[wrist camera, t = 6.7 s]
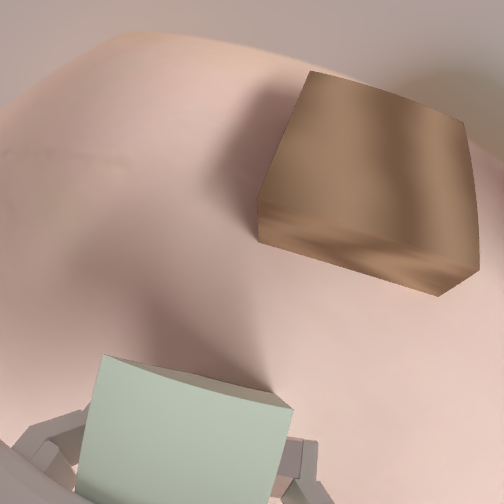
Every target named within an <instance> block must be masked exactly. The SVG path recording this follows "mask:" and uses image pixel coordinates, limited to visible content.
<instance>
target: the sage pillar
mask: <svg viewBox="0 0 504 504" xmlns="http://www.w3.org/2000/svg"><path fill="white" fill-rule="evenodd" d="M293 411H294V409H292V408H291V407H290V406H289V405H288V404H286V403H285V402H284V401H283V400H282V399H280V398H279V397H278V396H277V395H276V394H275V393H270V392H265V391H260V390H256V389H251V388H247V387H243V386H238V385H234V384H230V383H226V382H222V381H219V380H215V379H211V378H207V377H204V376H200V375H197V374H193V373H188V372H182V371H177V370H171V369H166V368H161V367H156V366H151V365H147V364H142V363H138V362H133V361H129V360H125V359H121V358H116V357H113V356H109V355H105V354H103V357H102V360H101V364H100V367H99V371H98V375H97V379H96V383H95V387H94V391H93V395H92V399H91V403H90V408H89V412H88V417H87V421H86V426H85V431H84V436H83V441H82V447H81V452H80V458H79V464H78V471H77V477H76V485H75V493H76V494H78V495H80V496H82V497H83V498H85V499H87V500H89V501H91V502H93V503H95V504H268V500H269V497H270V494H271V491H272V487H273V484H274V481H275V477H276V474H277V471H278V467H279V464H280V460H281V457H282V453H283V449H284V446H285V442H286V438H287V434H288V430H289V427H290V423H291V419H292V415H293Z"/></svg>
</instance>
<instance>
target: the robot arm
mask: <svg viewBox="0 0 504 504" xmlns="http://www.w3.org/2000/svg"><path fill="white" fill-rule="evenodd" d="M90 403H91V401H90ZM90 403H89V404H88V405H87V406H86V408H85V409H84V410H83V411H82V410H77V411H74V412H71V413H69V414H66V415H63V416H60V417H57V418H54V419H51V420H48V421H45V422H42V423H38V424H35V425H32V426H29V428H28V429H27V430H26V431H25V432H24V433H23V435H22V436H21V437H20V438H19V439H18V441H17V442H16V443H15V444H14V445H13V447H12V448H10V447H9V446H8V445H7V444H5V443H4V442H3V441H2V440H1V439H0V504H95V503H93V502H91V501H89V500H87V499H85V498H83V497H82V496H80V495H78V494H76V493H75V492H73V491H72V490H73V488H74V486H75V485H76V477H77V474H76V473H75V471H74V470H73V468H72V467H71V466H73V465H75V464H77V463H79V458H80V452H81V447H82V441H83V436H84V431H85V426H86V421H87V417H88V412H89V408H90ZM317 459H318V442H317V441H313V440H305V439H301V438H294V437H288V436H287V438H286V442H285V446H284V449H283V453H282V457H281V460H280V464H279V467H278V471H277V474H276V477H275V481H274V484H273V487H272V491H271V494H270V496H271V497H276V498H282V499H281V500H282V503H283V504H335V503H334V502H333V500H332V499H331V497H330V496H329V494H328V493H327V491H326V490H325V488H324V487H323V485H322V484H321V482H320V481H316V474H317Z"/></svg>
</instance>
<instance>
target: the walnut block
mask: <svg viewBox="0 0 504 504" xmlns="http://www.w3.org/2000/svg"><path fill="white" fill-rule="evenodd" d="M257 213H258V242H260V243H263V244H267V245H270V246H273V247H277V248H280V249H283V250H287V251H290V252H294V253H297V254H300V255H304V256H307V257H310V258H314V259H317V260H320V261H324V262H327V263H330V264H333V265H337V266H340V267H343V268H347V269H350V270H353V271H357V272H360V273H363V274H366V275H370V276H373V277H376V278H379V279H383V280H386V281H389V282H392V283H396V284H399V285H402V286H405V287H408V288H412V289H415V290H418V291H421V292H424V293H428V294H431V295H434V296H437V297H439V296H440V295H442V294H444V293H445V292H447V291H448V290H450V289H452V288H453V287H455V286H456V285H458V284H459V283H461V282H462V281H464V280H466V279H467V278H469V277H470V276H472V275H473V274H474V273H476V272H477V271H479V270H480V253H479V227H478V213H477V202H476V192H475V184H474V177H473V170H472V164H471V158H470V152H469V147H468V142H467V137H466V132H465V128H464V123H463V122H461V121H459V120H457V119H455V118H453V117H451V116H448V115H446V114H444V113H441V112H439V111H437V110H435V109H432V108H430V107H427V106H425V105H422V104H420V103H417V102H415V101H411V100H409V99H407V98H404V97H401V96H398V95H395V94H393V93H390V92H387V91H384V90H381V89H377V88H374V87H371V86H368V85H364V84H361V83H358V82H354V81H351V80H347V79H343V78H339V77H335V76H331V75H327V74H323V73H319V72H314V71H310V72H309V74H308V77H307V79H306V82H305V84H304V86H303V89H302V91H301V93H300V96H299V98H298V100H297V103H296V105H295V108H294V110H293V112H292V115H291V117H290V120H289V122H288V124H287V127H286V129H285V132H284V134H283V136H282V139H281V141H280V144H279V146H278V148H277V151H276V153H275V156H274V158H273V161H272V163H271V166H270V168H269V170H268V173H267V175H266V178H265V180H264V183H263V185H262V188H261V190H260V193H259V195H258V197H257Z"/></svg>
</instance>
